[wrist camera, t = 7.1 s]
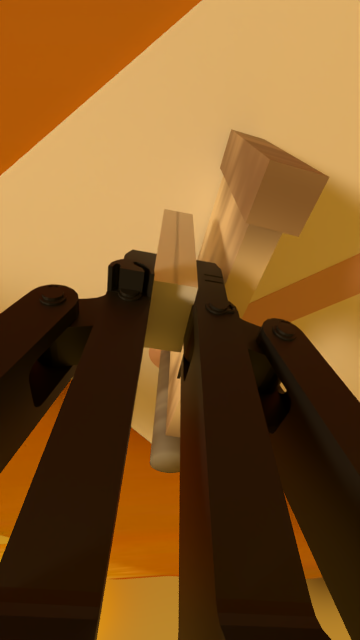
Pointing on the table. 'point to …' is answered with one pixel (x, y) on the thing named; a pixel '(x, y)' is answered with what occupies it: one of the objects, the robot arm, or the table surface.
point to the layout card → (204, 168)
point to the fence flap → (250, 225)
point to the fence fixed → (164, 425)
